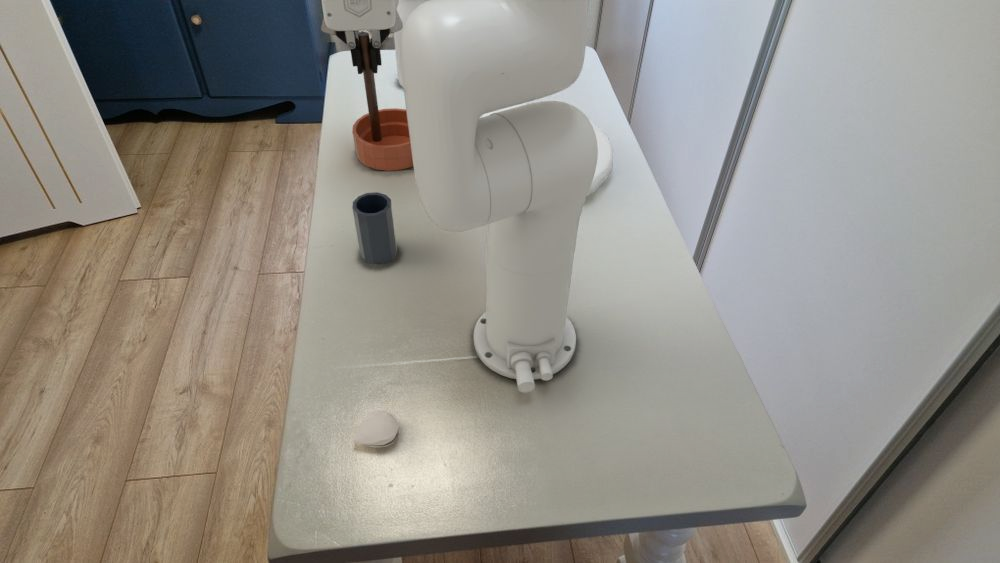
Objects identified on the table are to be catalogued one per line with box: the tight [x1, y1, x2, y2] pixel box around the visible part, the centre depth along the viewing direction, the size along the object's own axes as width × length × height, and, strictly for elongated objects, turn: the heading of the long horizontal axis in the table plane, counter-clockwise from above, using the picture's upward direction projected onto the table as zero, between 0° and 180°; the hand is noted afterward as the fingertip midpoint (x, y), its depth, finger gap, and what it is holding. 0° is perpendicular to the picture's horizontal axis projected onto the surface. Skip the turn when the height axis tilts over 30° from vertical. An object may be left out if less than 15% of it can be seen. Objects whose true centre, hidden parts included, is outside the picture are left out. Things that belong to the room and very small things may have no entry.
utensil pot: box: [351, 191, 398, 266], centre depth 89 cm, size 5×5×9 cm
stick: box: [357, 31, 382, 142], centre depth 104 cm, size 2×2×18 cm
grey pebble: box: [352, 409, 400, 448], centre depth 70 cm, size 4×5×2 cm
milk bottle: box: [393, 0, 427, 88], centre depth 123 cm, size 8×8×20 cm
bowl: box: [351, 107, 414, 172], centre depth 110 cm, size 12×12×5 cm
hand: (368, 69), depth 101 cm, fingers closed on stick, 1 cm apart
